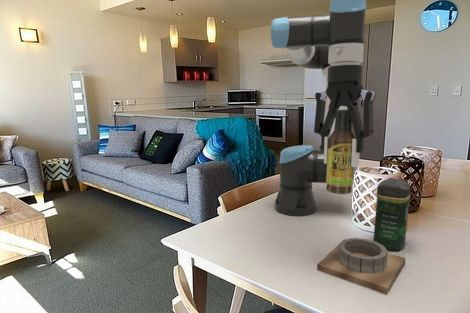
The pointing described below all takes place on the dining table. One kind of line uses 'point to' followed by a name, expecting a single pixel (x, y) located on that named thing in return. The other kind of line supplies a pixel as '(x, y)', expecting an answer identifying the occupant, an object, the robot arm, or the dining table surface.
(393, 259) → the ring collar
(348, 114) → the sauce bottle
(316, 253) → the dining table surface
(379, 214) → the coffee jar
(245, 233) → the dining table surface
